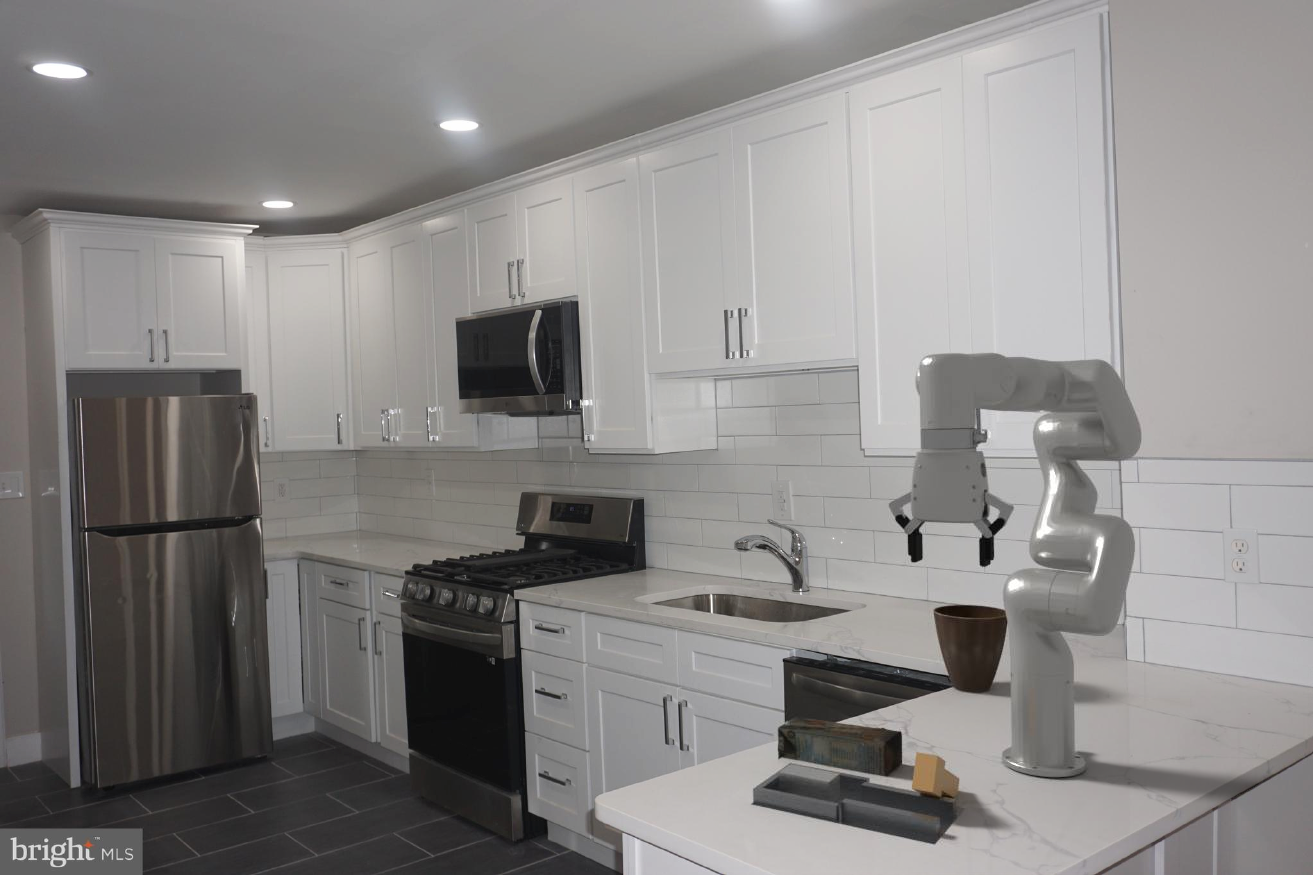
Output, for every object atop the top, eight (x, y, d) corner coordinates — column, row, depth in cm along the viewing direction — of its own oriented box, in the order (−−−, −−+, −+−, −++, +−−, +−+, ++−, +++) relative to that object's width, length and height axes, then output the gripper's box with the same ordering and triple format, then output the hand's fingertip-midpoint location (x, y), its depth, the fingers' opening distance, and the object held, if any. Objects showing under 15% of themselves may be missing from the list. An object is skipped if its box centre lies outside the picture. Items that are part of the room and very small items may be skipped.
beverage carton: (796, 748, 172) (796, 710, 172) (905, 768, 161) (904, 727, 161) (776, 762, 165) (775, 723, 165) (888, 784, 155) (887, 741, 155)
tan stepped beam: (911, 788, 139) (936, 802, 148) (932, 792, 138) (956, 806, 147) (916, 752, 141) (940, 768, 150) (937, 755, 140) (960, 771, 149)
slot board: (792, 779, 157) (792, 761, 157) (965, 813, 142) (965, 793, 142) (751, 809, 145) (750, 790, 145) (934, 850, 130) (934, 828, 130)
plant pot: (947, 675, 217) (946, 602, 217) (1018, 684, 209) (1017, 608, 209) (924, 691, 205) (923, 613, 205) (998, 701, 197) (997, 620, 196)
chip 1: (791, 786, 151) (790, 763, 151) (815, 791, 149) (814, 768, 149) (779, 795, 148) (778, 772, 148) (804, 800, 146) (803, 776, 146)
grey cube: (815, 791, 149) (814, 768, 149) (840, 796, 147) (839, 773, 147) (803, 800, 146) (803, 777, 146) (829, 806, 144) (828, 781, 143)
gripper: (1018, 440, 138) (1020, 563, 139) (897, 441, 148) (900, 556, 148) (1004, 442, 132) (1006, 571, 132) (879, 443, 141) (881, 563, 142)
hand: (950, 563), depth 140 cm, fingers open, 9 cm apart
